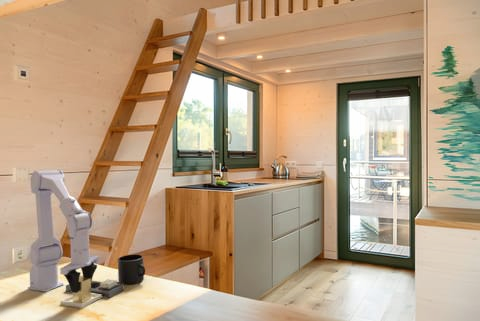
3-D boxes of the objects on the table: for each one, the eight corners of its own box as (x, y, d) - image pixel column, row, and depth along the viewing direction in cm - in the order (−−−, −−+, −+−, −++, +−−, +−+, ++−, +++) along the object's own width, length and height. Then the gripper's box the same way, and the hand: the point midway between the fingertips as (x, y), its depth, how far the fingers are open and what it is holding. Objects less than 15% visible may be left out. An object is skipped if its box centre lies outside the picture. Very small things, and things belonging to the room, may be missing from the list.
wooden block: (72, 301, 121) (72, 280, 121) (82, 297, 125) (81, 276, 125) (81, 303, 120) (81, 282, 120) (91, 298, 124) (90, 278, 123)
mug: (136, 287, 134) (135, 263, 134) (113, 282, 140) (112, 259, 140) (153, 279, 143) (153, 256, 142) (131, 275, 148) (130, 253, 148)
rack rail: (65, 290, 132) (65, 280, 132) (81, 284, 139) (81, 273, 139) (109, 297, 125) (109, 286, 125) (123, 290, 132) (123, 279, 131)
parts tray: (60, 304, 120) (60, 301, 120) (81, 294, 128) (81, 291, 128) (81, 308, 117) (81, 304, 117) (101, 297, 125) (101, 294, 125)
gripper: (71, 255, 114) (72, 298, 114) (105, 244, 127) (106, 283, 128) (55, 253, 117) (56, 296, 117) (89, 243, 130) (90, 281, 130)
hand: (81, 289), depth 122 cm, fingers open, 5 cm apart
